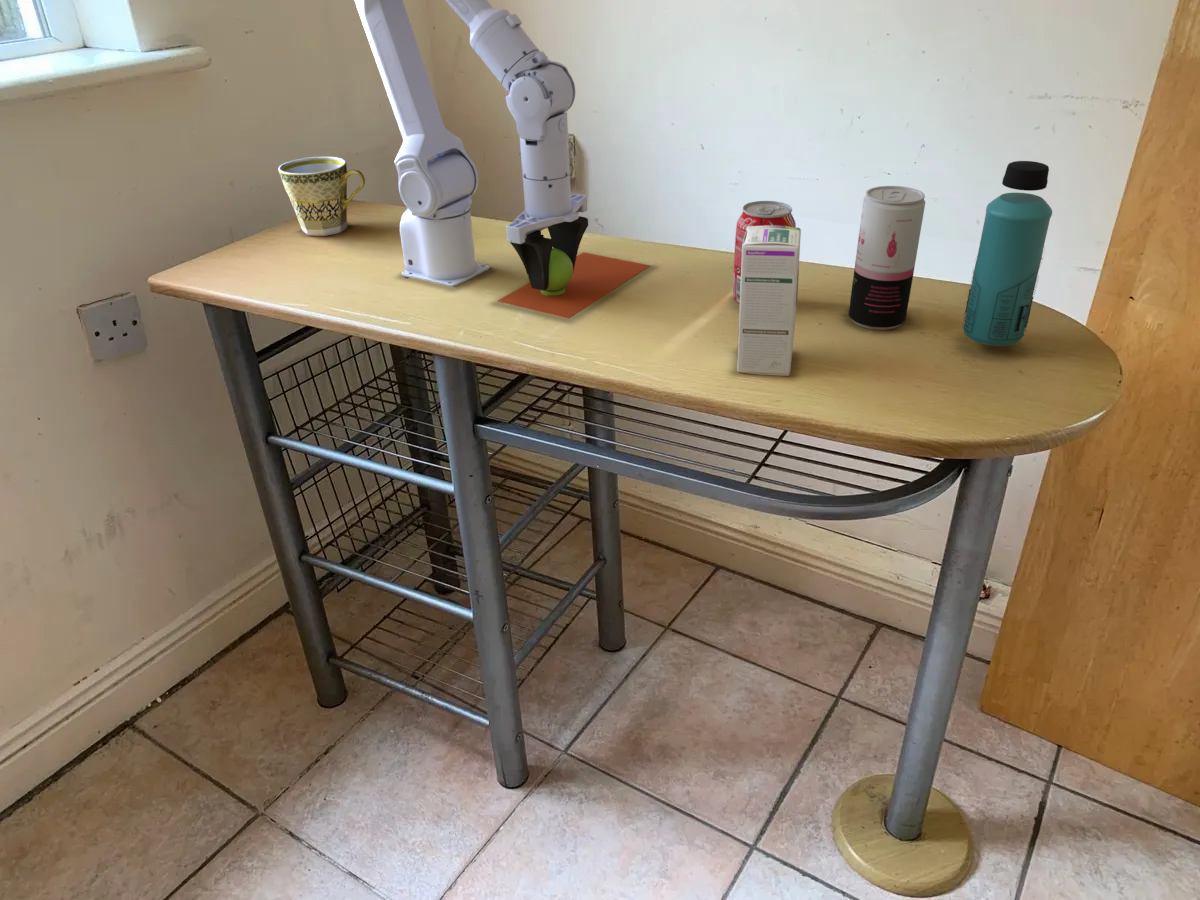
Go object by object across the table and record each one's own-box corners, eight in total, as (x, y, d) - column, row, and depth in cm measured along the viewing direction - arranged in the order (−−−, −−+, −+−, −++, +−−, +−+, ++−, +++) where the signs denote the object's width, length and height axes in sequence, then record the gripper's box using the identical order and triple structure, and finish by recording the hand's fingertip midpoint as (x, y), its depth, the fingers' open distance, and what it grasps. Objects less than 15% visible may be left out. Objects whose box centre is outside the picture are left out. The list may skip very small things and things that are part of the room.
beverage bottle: (1014, 364, 96) (1060, 175, 85) (950, 351, 99) (987, 167, 88) (1026, 341, 100) (1071, 159, 90) (965, 329, 103) (1001, 152, 93)
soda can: (795, 296, 113) (804, 202, 106) (780, 318, 107) (789, 220, 101) (741, 289, 115) (747, 196, 109) (724, 309, 110) (729, 213, 103)
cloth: (497, 303, 113) (496, 300, 113) (583, 254, 128) (583, 252, 127) (568, 321, 108) (568, 318, 108) (650, 268, 122) (650, 265, 122)
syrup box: (790, 377, 95) (803, 244, 87) (734, 373, 96) (742, 242, 88) (791, 353, 99) (804, 225, 92) (738, 350, 100) (745, 223, 93)
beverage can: (909, 313, 107) (930, 188, 99) (900, 334, 102) (921, 205, 94) (854, 305, 110) (870, 183, 102) (842, 326, 105) (859, 199, 97)
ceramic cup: (280, 239, 137) (266, 173, 132) (309, 218, 145) (296, 155, 140) (360, 241, 135) (348, 174, 130) (384, 220, 143) (374, 157, 138)
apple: (523, 294, 115) (520, 244, 111) (548, 280, 119) (545, 232, 115) (558, 302, 112) (555, 251, 109) (582, 288, 116) (580, 238, 113)
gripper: (537, 194, 100) (545, 306, 108) (606, 163, 111) (608, 268, 118) (488, 186, 104) (498, 295, 111) (559, 157, 114) (564, 259, 121)
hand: (552, 281), depth 115 cm, fingers closed on apple, 5 cm apart
